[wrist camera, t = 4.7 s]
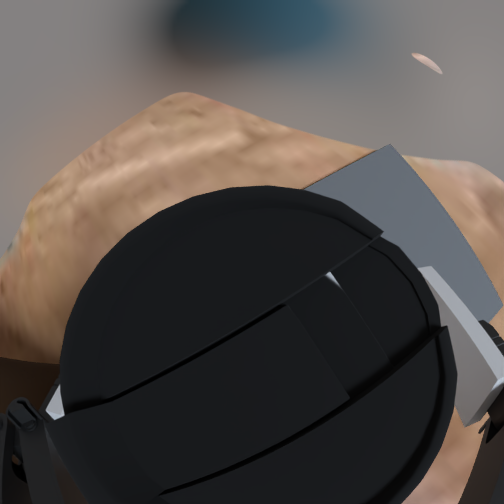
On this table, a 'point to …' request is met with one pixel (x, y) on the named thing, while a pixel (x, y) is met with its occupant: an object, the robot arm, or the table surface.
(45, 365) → the olive oil
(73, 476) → the travel mug
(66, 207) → the table surface
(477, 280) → the rubber mat
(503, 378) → the robot arm
